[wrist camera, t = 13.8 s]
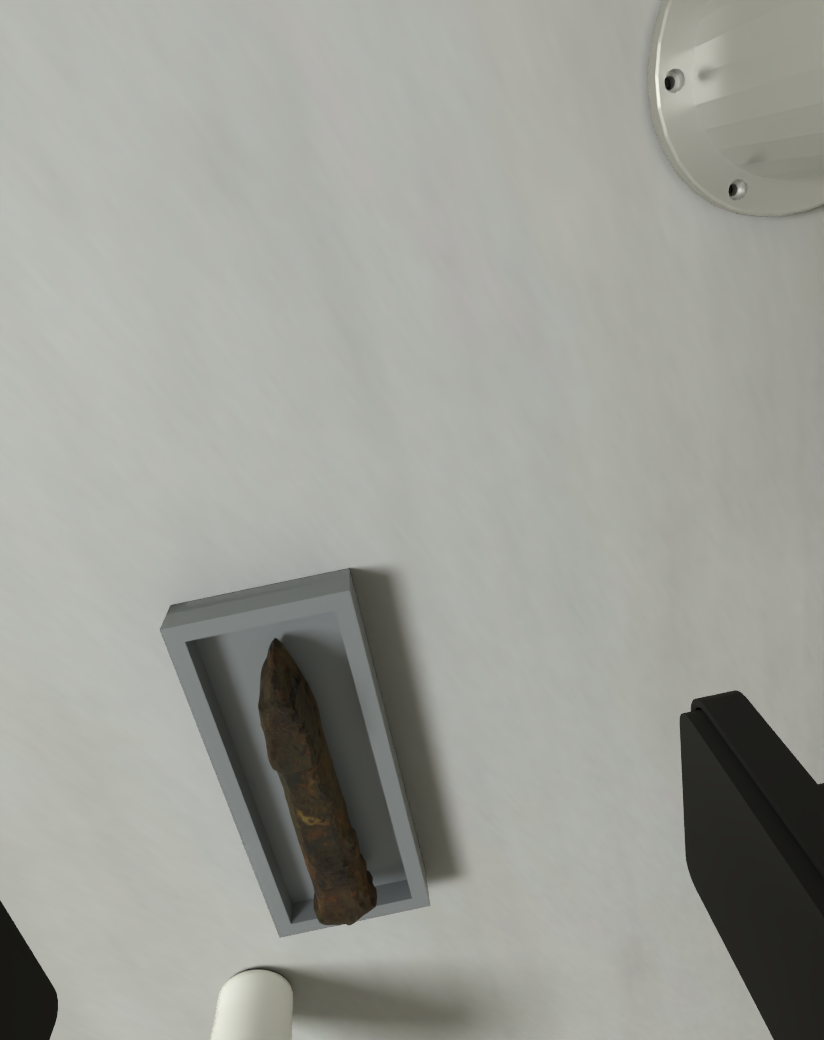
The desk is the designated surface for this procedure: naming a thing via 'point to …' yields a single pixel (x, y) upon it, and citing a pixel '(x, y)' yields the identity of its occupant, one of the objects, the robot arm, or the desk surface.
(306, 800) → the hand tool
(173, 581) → the desk surface
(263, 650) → the tray
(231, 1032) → the white tumbler
